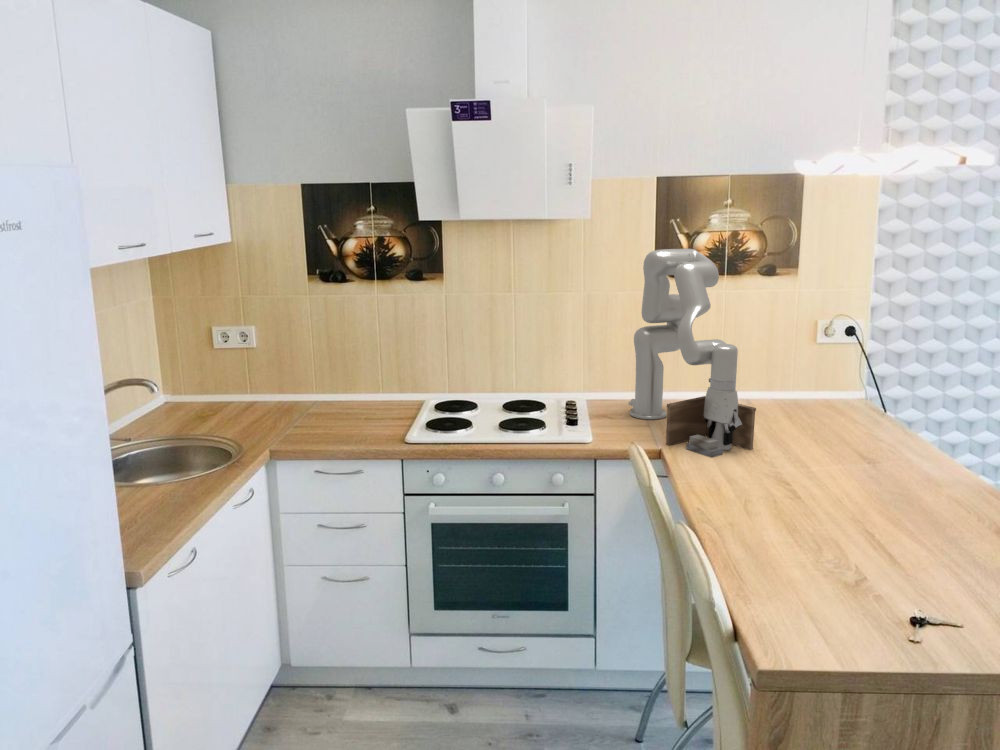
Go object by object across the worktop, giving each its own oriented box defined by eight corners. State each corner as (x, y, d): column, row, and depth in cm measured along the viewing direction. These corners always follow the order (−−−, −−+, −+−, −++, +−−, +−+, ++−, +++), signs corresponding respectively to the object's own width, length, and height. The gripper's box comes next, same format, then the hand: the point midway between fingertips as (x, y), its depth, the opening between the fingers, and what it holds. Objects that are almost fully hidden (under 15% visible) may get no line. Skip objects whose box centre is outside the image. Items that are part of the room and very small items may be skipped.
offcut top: (689, 444, 262) (689, 436, 262) (697, 441, 264) (697, 434, 264) (709, 450, 256) (709, 442, 255) (717, 448, 258) (718, 440, 257)
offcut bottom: (686, 450, 263) (686, 443, 263) (697, 447, 266) (697, 440, 265) (711, 459, 255) (711, 451, 255) (722, 456, 258) (723, 448, 257)
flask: (732, 452, 260) (734, 420, 258) (707, 450, 262) (709, 419, 259) (731, 445, 267) (732, 414, 265) (707, 443, 268) (708, 412, 266)
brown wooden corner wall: (665, 444, 268) (666, 404, 265) (705, 434, 278) (707, 395, 275) (713, 460, 253) (715, 417, 250) (753, 449, 263) (756, 408, 260)
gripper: (693, 381, 265) (690, 437, 269) (737, 392, 251) (733, 451, 255) (709, 378, 269) (706, 433, 273) (753, 388, 255) (750, 446, 259)
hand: (719, 441), depth 264 cm, fingers open, 5 cm apart
